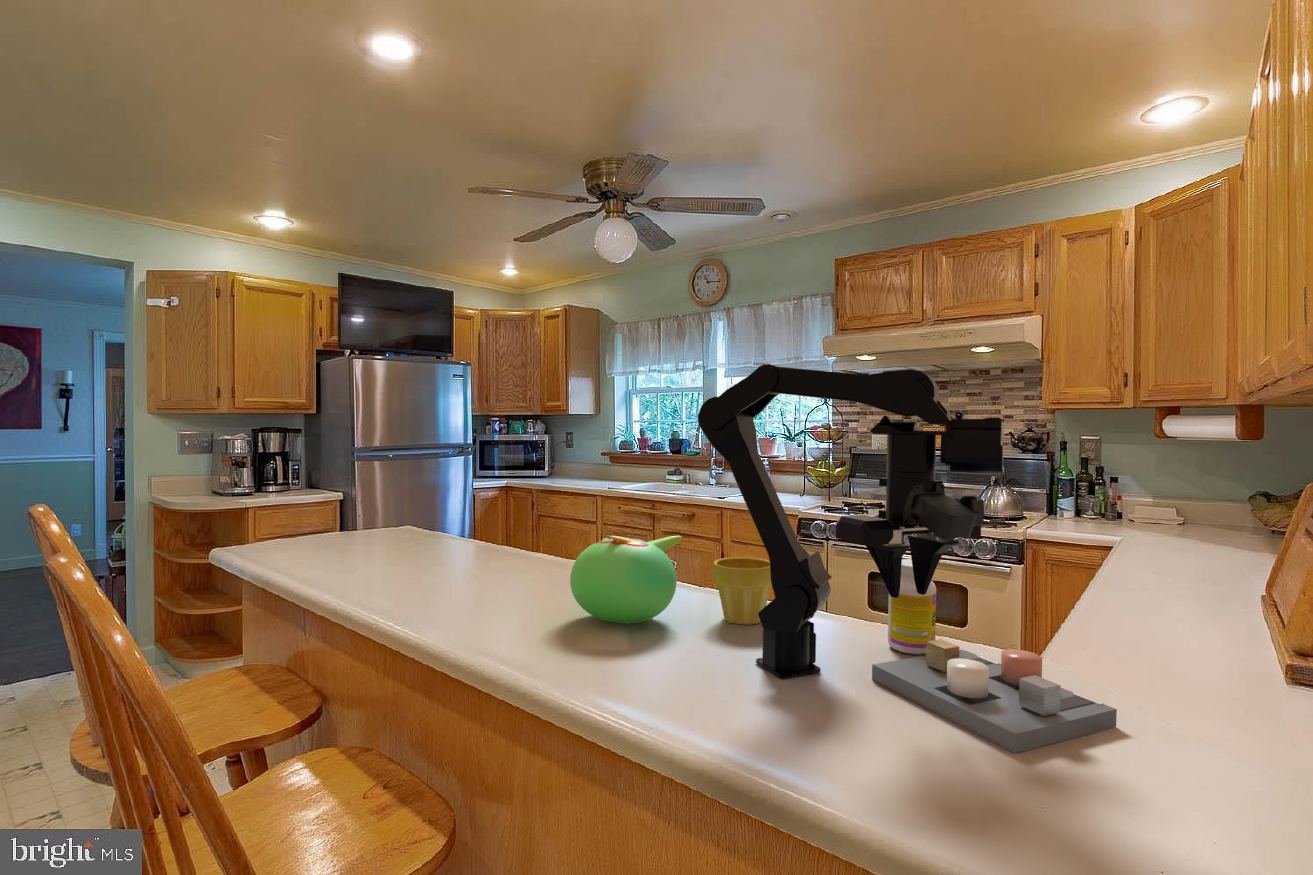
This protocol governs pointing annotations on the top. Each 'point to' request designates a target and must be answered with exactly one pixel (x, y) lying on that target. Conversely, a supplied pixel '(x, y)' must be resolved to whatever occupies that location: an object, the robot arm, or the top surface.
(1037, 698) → the lever grey
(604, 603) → the toy bird
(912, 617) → the supplement bottle
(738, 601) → the plant pot
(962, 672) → the button ivory
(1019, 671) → the button rust
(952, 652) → the brushed gold cube
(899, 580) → the robot arm
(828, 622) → the top surface
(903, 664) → the panel
